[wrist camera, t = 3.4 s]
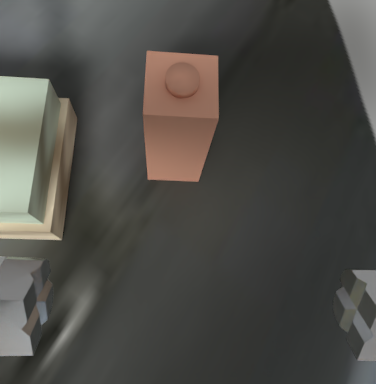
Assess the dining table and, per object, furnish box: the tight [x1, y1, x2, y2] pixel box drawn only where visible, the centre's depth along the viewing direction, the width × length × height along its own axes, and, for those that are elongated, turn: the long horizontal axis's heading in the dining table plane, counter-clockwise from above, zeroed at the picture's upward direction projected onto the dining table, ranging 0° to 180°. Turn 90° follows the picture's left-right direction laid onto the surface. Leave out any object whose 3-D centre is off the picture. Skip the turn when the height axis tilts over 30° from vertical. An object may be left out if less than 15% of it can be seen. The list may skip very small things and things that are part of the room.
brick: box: [143, 51, 219, 182], centre depth 24 cm, size 4×4×11 cm
